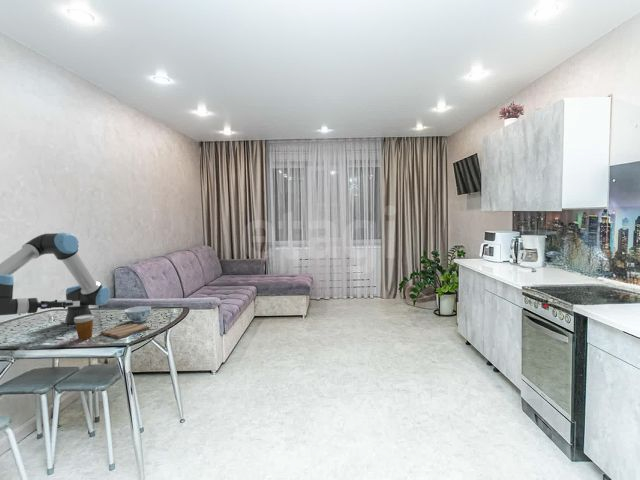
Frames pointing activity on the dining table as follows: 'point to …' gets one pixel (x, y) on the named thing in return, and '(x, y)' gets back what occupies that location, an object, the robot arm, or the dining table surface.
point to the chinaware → (138, 313)
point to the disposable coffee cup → (84, 326)
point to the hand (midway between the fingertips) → (75, 303)
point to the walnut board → (125, 330)
